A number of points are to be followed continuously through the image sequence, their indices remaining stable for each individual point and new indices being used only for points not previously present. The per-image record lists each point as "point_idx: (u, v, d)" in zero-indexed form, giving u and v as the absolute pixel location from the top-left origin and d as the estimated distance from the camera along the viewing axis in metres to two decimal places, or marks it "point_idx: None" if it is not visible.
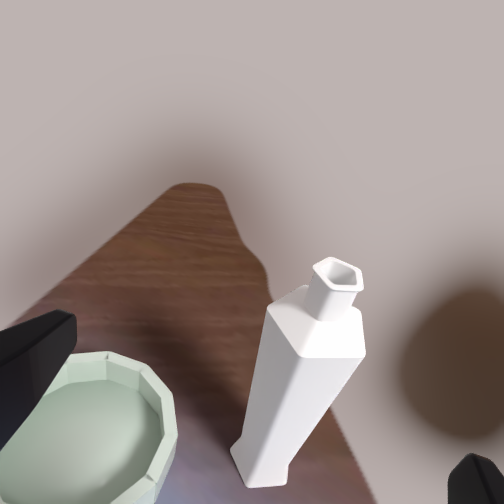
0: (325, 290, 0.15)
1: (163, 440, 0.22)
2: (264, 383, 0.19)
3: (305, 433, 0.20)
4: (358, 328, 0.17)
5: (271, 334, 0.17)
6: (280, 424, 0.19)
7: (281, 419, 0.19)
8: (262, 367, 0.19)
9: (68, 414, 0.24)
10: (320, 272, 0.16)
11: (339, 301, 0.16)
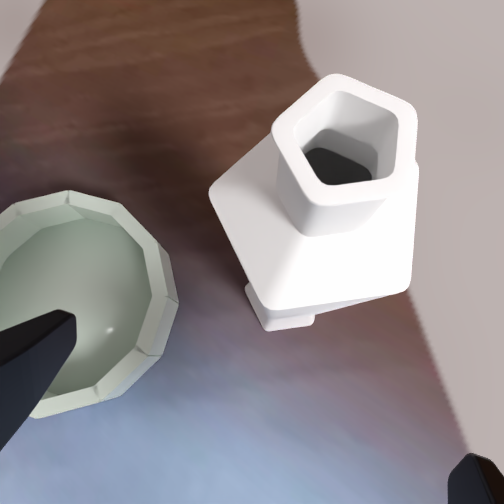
0: None
1: (151, 304, 0.18)
2: None
3: (322, 312, 0.14)
4: (403, 220, 0.08)
5: (227, 235, 0.09)
6: (278, 317, 0.13)
7: (278, 317, 0.13)
8: None
9: (49, 267, 0.20)
10: (294, 141, 0.06)
11: (345, 211, 0.06)
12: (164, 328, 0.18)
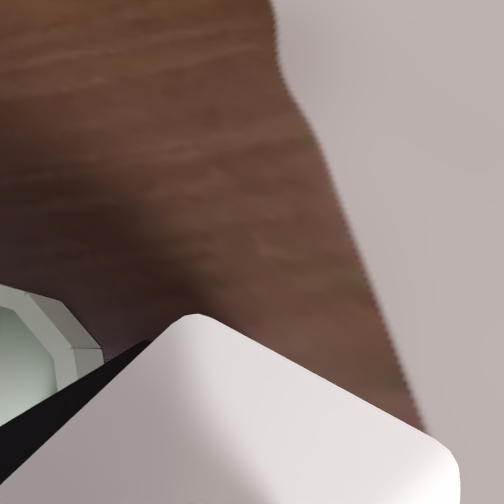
0: None
1: None
2: None
3: None
4: None
5: None
6: None
7: None
8: None
9: None
10: None
11: None
12: None
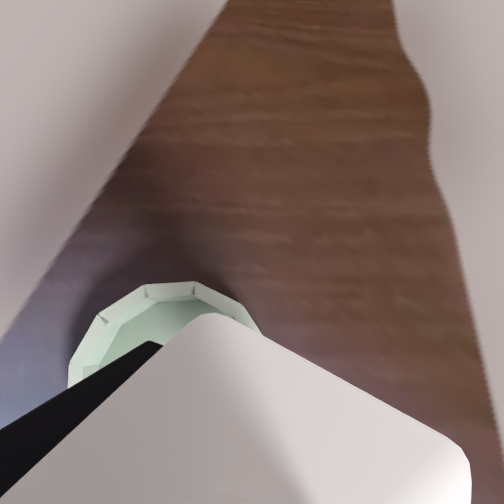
0: None
1: None
2: None
3: None
4: None
5: None
6: None
7: None
8: None
9: (160, 343, 0.21)
10: None
11: None
12: None
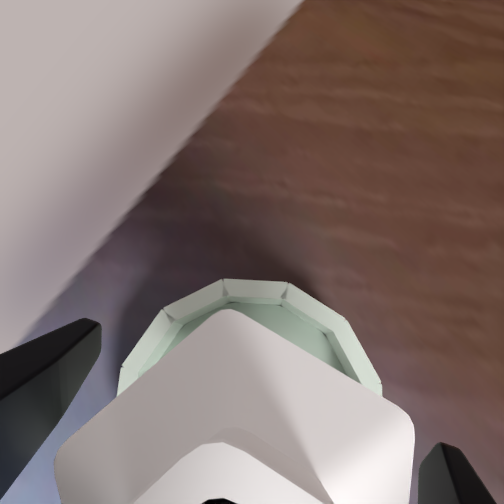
0: None
1: None
2: None
3: None
4: None
5: None
6: None
7: None
8: None
9: None
10: None
11: None
12: None
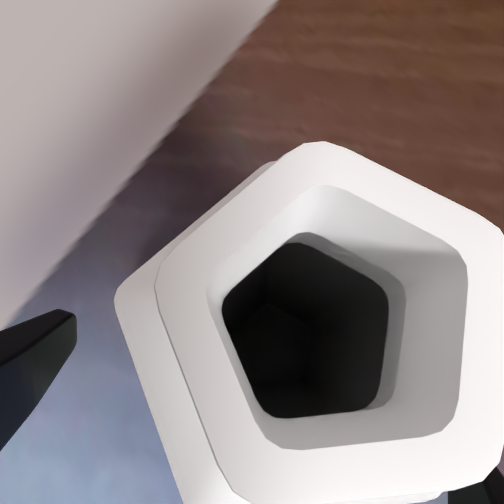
0: None
1: None
2: None
3: (310, 400, 0.11)
4: None
5: None
6: None
7: None
8: None
9: None
10: (210, 310, 0.02)
11: None
12: None
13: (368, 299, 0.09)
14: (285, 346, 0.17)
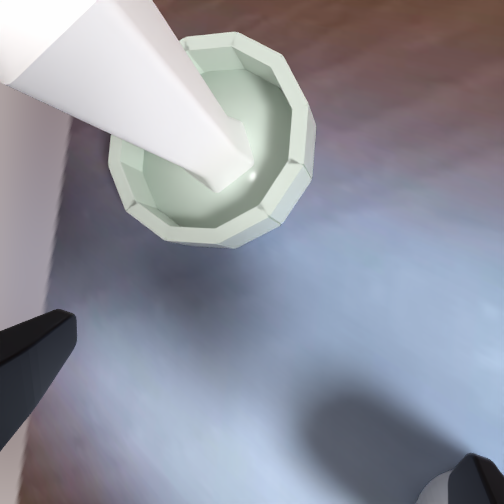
0: None
1: (293, 116, 0.17)
2: None
3: (201, 125, 0.14)
4: None
5: None
6: (152, 144, 0.14)
7: (145, 141, 0.13)
8: None
9: None
10: None
11: None
12: (310, 144, 0.18)
13: (154, 5, 0.12)
14: None
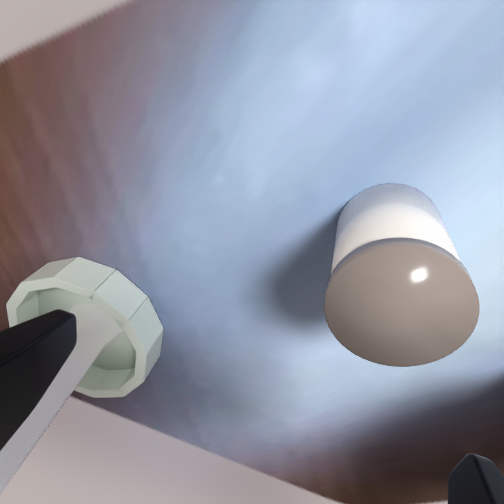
0: None
1: (61, 287, 0.24)
2: None
3: None
4: None
5: None
6: (54, 407, 0.21)
7: (50, 414, 0.21)
8: None
9: None
10: None
11: None
12: (86, 273, 0.24)
13: None
14: None
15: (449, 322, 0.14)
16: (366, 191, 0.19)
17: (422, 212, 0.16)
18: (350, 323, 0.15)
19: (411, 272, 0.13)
